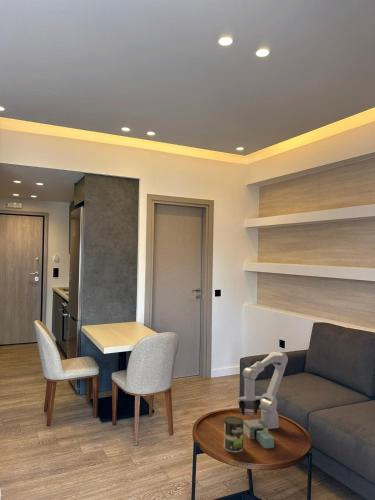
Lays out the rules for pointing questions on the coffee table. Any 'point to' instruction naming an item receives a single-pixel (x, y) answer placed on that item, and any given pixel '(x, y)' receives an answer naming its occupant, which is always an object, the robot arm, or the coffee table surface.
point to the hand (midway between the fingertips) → (249, 413)
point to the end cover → (265, 439)
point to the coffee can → (233, 434)
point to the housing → (253, 427)
